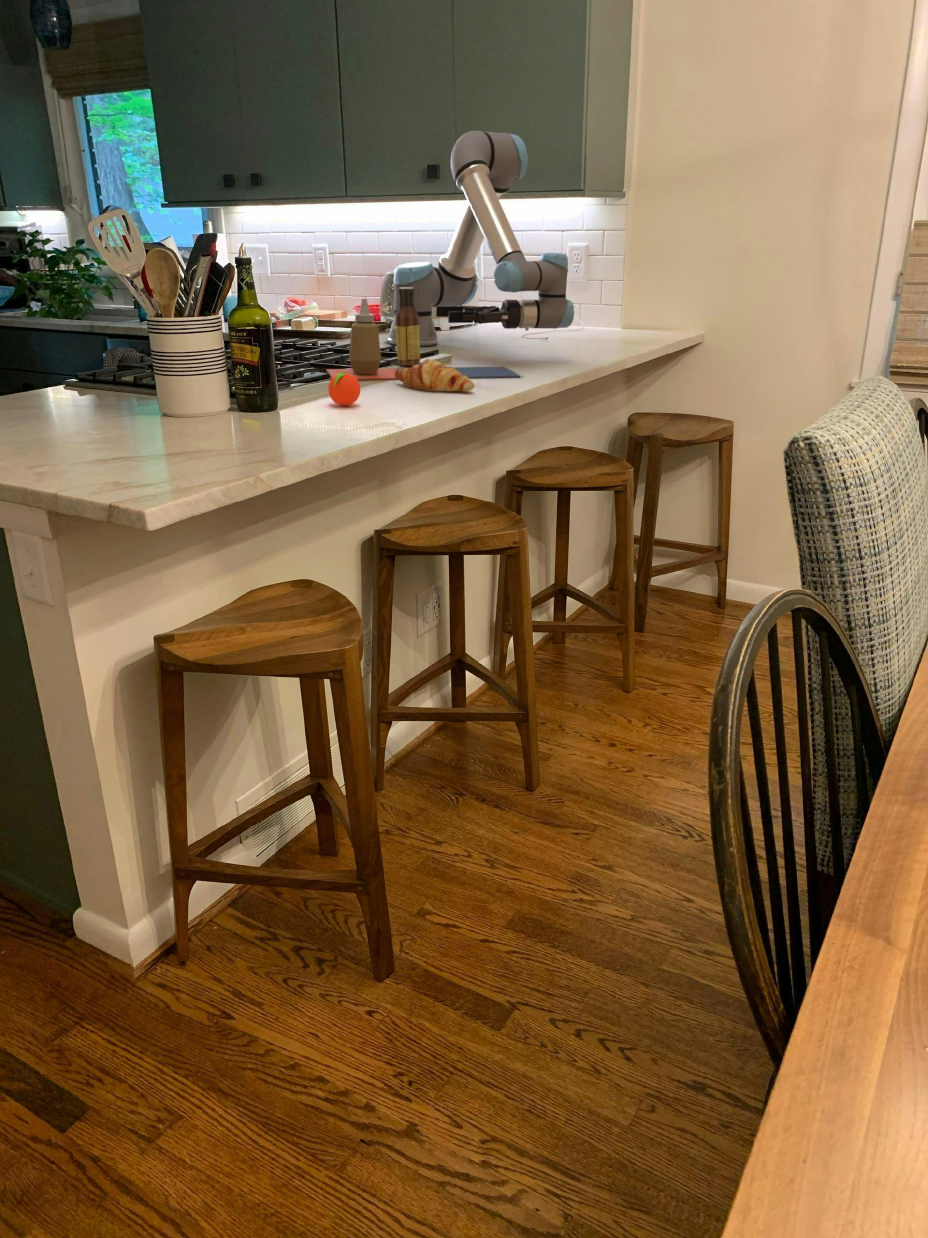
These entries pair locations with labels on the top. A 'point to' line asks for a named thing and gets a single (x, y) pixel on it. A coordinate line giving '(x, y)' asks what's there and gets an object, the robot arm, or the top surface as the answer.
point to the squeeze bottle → (364, 343)
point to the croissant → (434, 377)
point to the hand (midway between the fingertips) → (442, 314)
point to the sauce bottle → (407, 329)
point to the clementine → (344, 389)
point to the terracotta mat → (380, 375)
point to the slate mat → (487, 372)
